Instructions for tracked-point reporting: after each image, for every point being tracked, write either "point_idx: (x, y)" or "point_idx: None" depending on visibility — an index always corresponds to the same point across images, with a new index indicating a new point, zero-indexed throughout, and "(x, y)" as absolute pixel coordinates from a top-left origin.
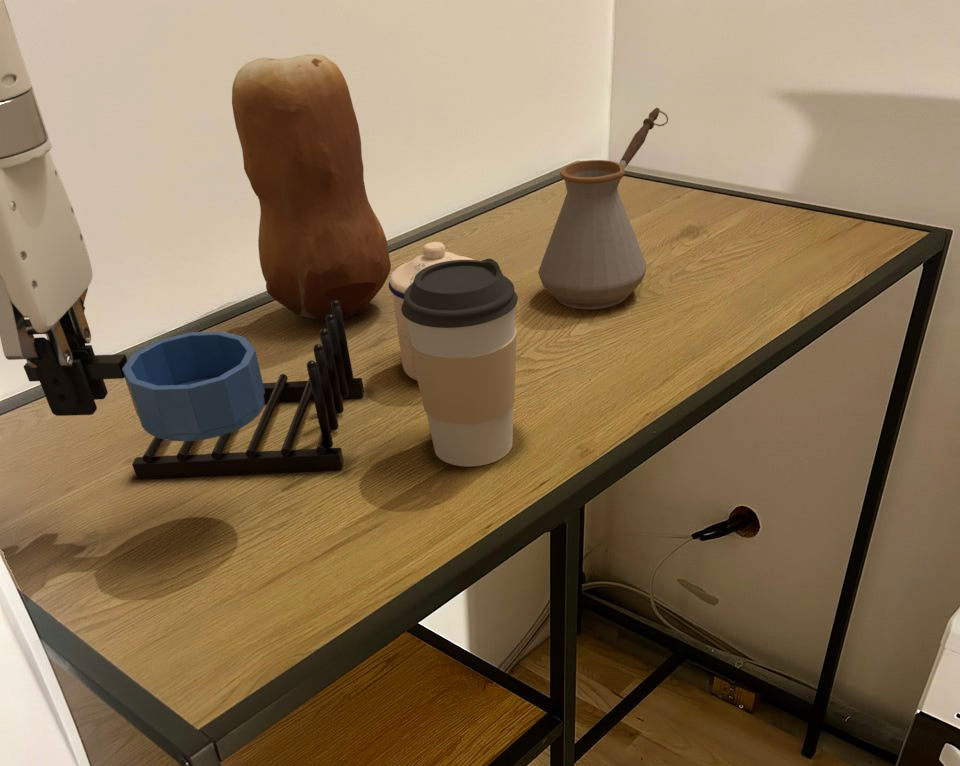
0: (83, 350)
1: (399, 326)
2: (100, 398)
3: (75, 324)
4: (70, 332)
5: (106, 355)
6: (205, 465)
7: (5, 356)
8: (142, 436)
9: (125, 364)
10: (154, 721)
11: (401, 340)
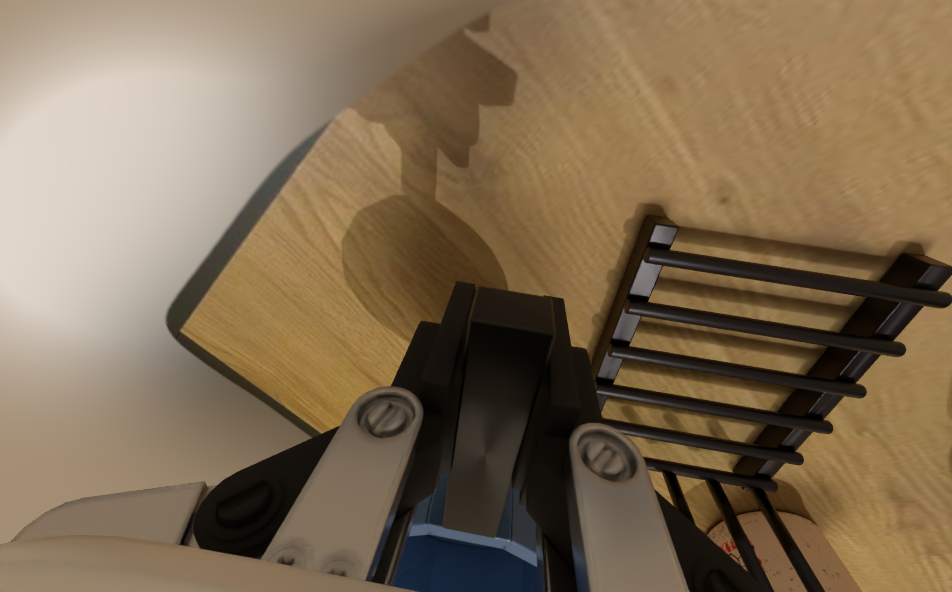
0: (520, 487)
1: (800, 583)
2: None
3: (540, 587)
4: (556, 529)
5: (494, 513)
6: (612, 325)
7: (30, 524)
8: (817, 197)
9: (447, 530)
10: (177, 297)
11: (787, 561)
